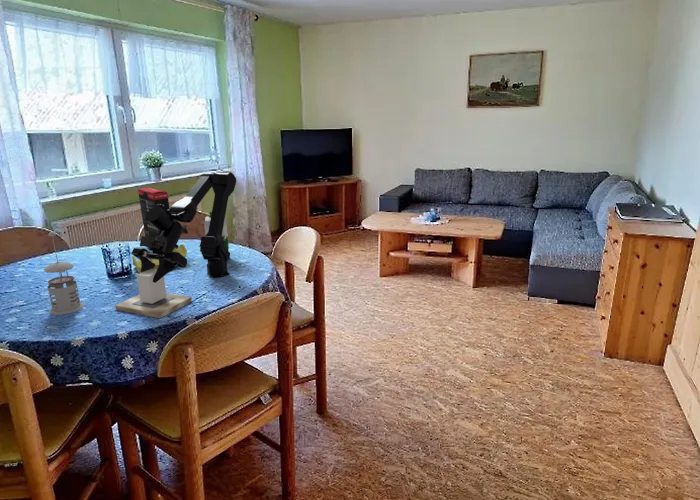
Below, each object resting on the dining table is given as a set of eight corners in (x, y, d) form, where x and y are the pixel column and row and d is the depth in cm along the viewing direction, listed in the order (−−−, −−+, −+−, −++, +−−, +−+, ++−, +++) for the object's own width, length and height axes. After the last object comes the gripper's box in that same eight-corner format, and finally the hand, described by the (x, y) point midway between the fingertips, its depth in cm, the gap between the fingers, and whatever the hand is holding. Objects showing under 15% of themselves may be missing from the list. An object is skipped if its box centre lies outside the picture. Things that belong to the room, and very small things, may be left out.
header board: (150, 294, 159) (148, 281, 158) (191, 301, 152) (190, 288, 151) (115, 309, 147) (113, 295, 145) (159, 318, 140) (157, 303, 138)
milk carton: (229, 255, 201) (225, 210, 195) (229, 262, 192) (225, 214, 187) (208, 257, 199) (203, 211, 193) (207, 263, 191) (202, 215, 185)
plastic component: (138, 269, 178) (131, 253, 184) (140, 283, 183) (133, 267, 188) (190, 256, 188) (181, 241, 194) (191, 269, 193) (182, 254, 199)
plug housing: (155, 294, 152) (151, 268, 150) (166, 296, 151) (163, 270, 148) (140, 301, 147) (136, 274, 145) (152, 303, 145) (148, 276, 143)
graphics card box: (176, 250, 211) (169, 190, 203) (161, 253, 206) (153, 192, 198) (159, 243, 222) (151, 186, 214) (144, 246, 217) (136, 188, 210)
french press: (46, 316, 142) (29, 237, 135) (52, 303, 152) (36, 229, 145) (82, 311, 146) (68, 233, 139) (86, 298, 156) (72, 225, 149)
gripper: (131, 222, 149) (107, 265, 143) (176, 227, 142) (153, 273, 136) (153, 240, 159) (132, 281, 152) (197, 245, 151) (176, 289, 145)
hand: (147, 281), depth 146 cm, fingers closed on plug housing, 5 cm apart
